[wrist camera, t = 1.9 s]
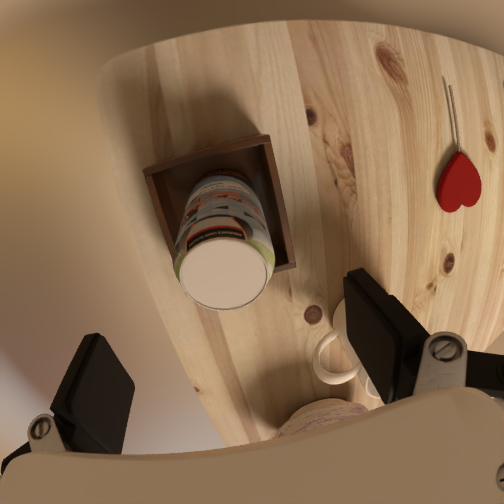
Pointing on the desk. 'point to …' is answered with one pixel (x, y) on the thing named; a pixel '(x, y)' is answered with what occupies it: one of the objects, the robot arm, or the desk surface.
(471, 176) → the lollipop
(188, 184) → the wooden box
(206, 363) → the desk surface
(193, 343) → the desk surface
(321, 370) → the mug
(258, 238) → the beverage can
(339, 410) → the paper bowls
